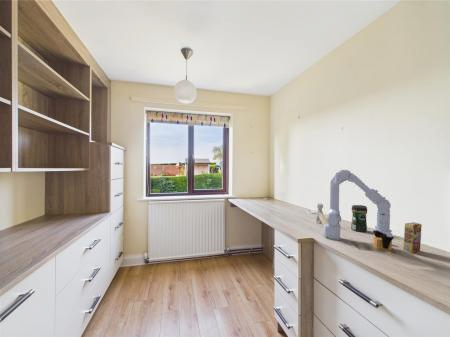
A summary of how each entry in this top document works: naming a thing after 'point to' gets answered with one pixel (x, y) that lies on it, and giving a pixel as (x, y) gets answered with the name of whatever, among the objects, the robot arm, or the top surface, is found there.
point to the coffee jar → (359, 218)
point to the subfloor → (373, 248)
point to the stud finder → (380, 244)
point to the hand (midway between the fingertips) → (382, 246)
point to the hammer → (320, 215)
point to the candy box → (412, 237)
